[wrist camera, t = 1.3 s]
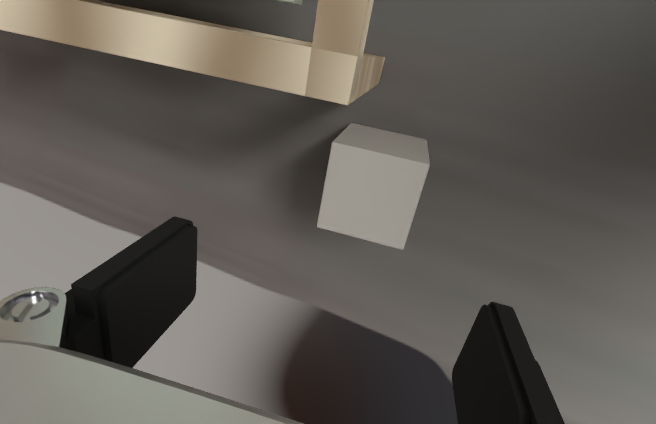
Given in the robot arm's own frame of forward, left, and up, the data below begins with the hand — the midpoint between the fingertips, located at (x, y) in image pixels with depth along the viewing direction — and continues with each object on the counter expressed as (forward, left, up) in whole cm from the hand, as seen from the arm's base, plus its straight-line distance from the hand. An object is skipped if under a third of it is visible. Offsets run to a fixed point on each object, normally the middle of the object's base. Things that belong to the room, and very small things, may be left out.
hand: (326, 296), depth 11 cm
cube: (0, 0, -15) cm, 15 cm away
